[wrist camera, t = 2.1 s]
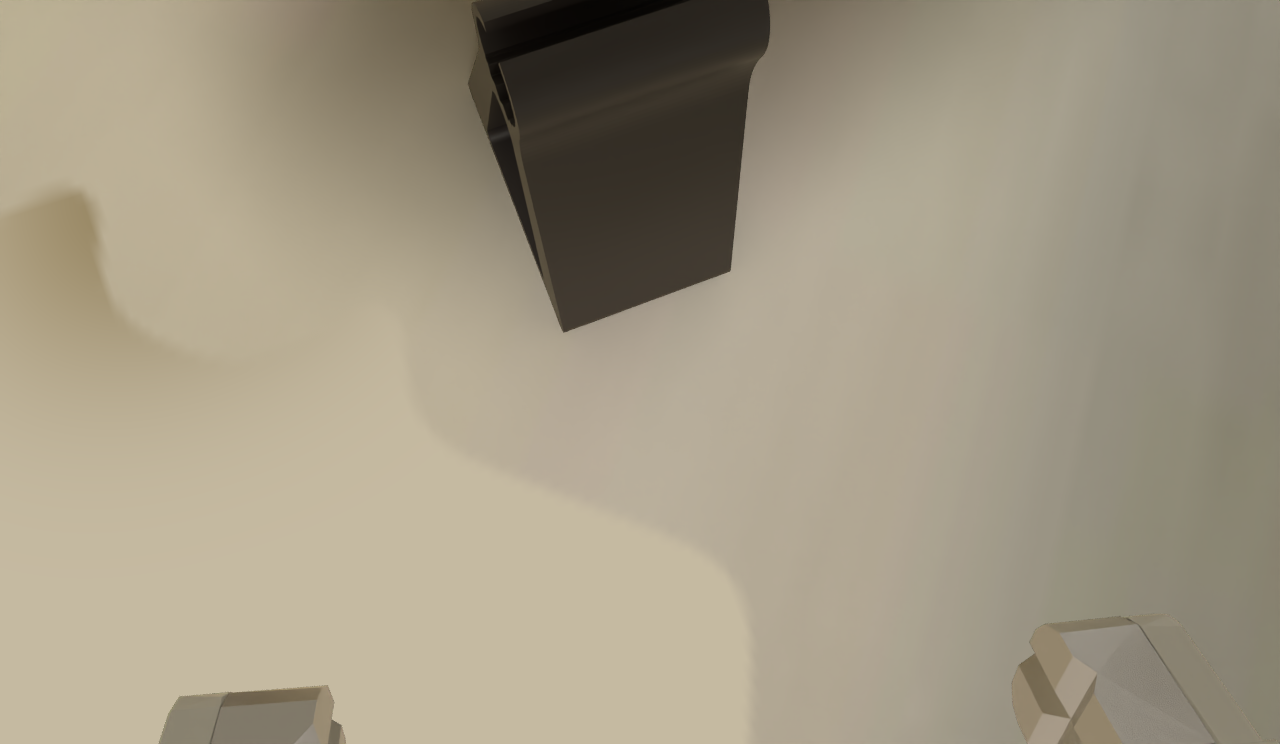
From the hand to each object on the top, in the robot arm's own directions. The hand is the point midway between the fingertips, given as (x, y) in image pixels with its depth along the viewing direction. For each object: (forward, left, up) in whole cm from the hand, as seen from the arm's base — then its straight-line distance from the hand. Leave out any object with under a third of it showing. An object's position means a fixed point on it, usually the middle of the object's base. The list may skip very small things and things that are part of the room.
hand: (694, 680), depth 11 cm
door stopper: (-1, -12, -20) cm, 23 cm away
